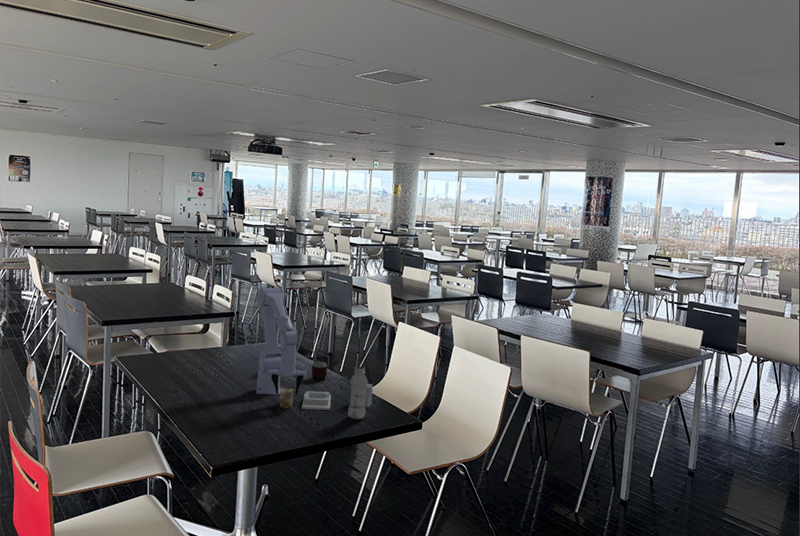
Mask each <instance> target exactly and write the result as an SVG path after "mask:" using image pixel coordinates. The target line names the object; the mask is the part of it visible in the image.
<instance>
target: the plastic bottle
mask: <svg viewBox="0 0 800 536" xmlns="http://www.w3.org/2000/svg"><path fill="white" fill-rule="evenodd" d="M365 373H366V371H365V367H363V366H356V367H354V374H353V376H351V379H350V382H349V383H350V399H349V400H350V401H349V406H348V409H347V414H348V417H349V419H353V420H361V419H364V417H365V415H366V407H365V393H366V388H367V384H369V381H368V378H367V377H366V375H365Z"/></svg>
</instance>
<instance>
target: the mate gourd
mask: <svg viewBox="0 0 800 536" xmlns="http://www.w3.org/2000/svg"><path fill="white" fill-rule="evenodd" d="M310 351H311V352H312V353H313V356H314V359H315V361H314V362H313V363H312V365H311V376H312V377H311V379H312V380H316V382H319V381H320V380H322V381H326V380H327V379H326V377H327V373H328V364H327V362H326V361H324V360H317V358H316V352H315V350H313V349H312V348H310Z"/></svg>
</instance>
